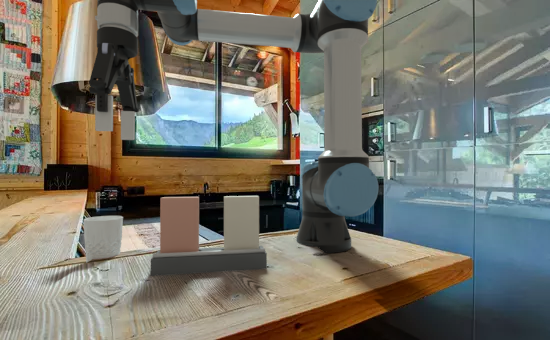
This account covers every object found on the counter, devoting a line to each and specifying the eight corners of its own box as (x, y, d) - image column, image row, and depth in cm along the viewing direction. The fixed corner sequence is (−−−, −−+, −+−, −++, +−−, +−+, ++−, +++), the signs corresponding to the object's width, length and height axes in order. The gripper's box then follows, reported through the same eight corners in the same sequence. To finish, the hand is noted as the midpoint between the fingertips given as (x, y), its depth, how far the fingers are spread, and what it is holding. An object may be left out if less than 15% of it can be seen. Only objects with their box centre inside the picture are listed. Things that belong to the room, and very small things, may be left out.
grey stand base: (262, 266, 63) (262, 241, 64) (266, 276, 57) (266, 249, 57) (158, 272, 60) (158, 246, 60) (150, 283, 53) (150, 254, 53)
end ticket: (198, 265, 59) (199, 196, 59) (197, 269, 57) (198, 197, 57) (162, 267, 58) (162, 197, 58) (160, 271, 56) (160, 198, 56)
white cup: (105, 267, 63) (105, 221, 63) (74, 265, 65) (74, 220, 65) (130, 257, 71) (130, 216, 71) (102, 255, 72) (102, 215, 73)
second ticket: (257, 262, 61) (257, 195, 62) (259, 265, 59) (258, 196, 59) (223, 264, 60) (223, 196, 60) (223, 267, 58) (224, 197, 58)
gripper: (119, 56, 72) (118, 142, 72) (66, -5, 48) (64, 125, 47) (151, 58, 73) (151, 142, 73) (116, 0, 49) (115, 126, 48)
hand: (117, 136), depth 60 cm, fingers open, 13 cm apart
